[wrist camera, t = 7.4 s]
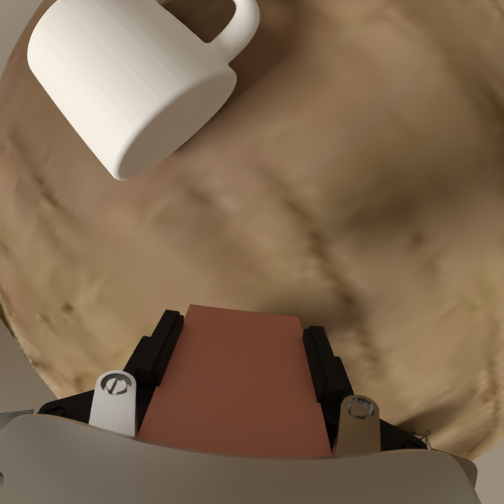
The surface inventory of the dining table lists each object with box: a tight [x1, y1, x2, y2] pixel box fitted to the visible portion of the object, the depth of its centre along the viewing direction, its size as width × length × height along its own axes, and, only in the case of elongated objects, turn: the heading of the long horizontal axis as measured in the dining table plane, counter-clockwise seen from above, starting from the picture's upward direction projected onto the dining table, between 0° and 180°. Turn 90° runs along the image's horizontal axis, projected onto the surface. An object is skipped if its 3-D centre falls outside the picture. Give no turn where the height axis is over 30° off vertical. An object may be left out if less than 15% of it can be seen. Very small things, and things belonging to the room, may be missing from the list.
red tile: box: [137, 304, 332, 457], centre depth 9 cm, size 5×2×9 cm, turn 83°
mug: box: [27, 0, 260, 180], centre depth 12 cm, size 12×10×8 cm
